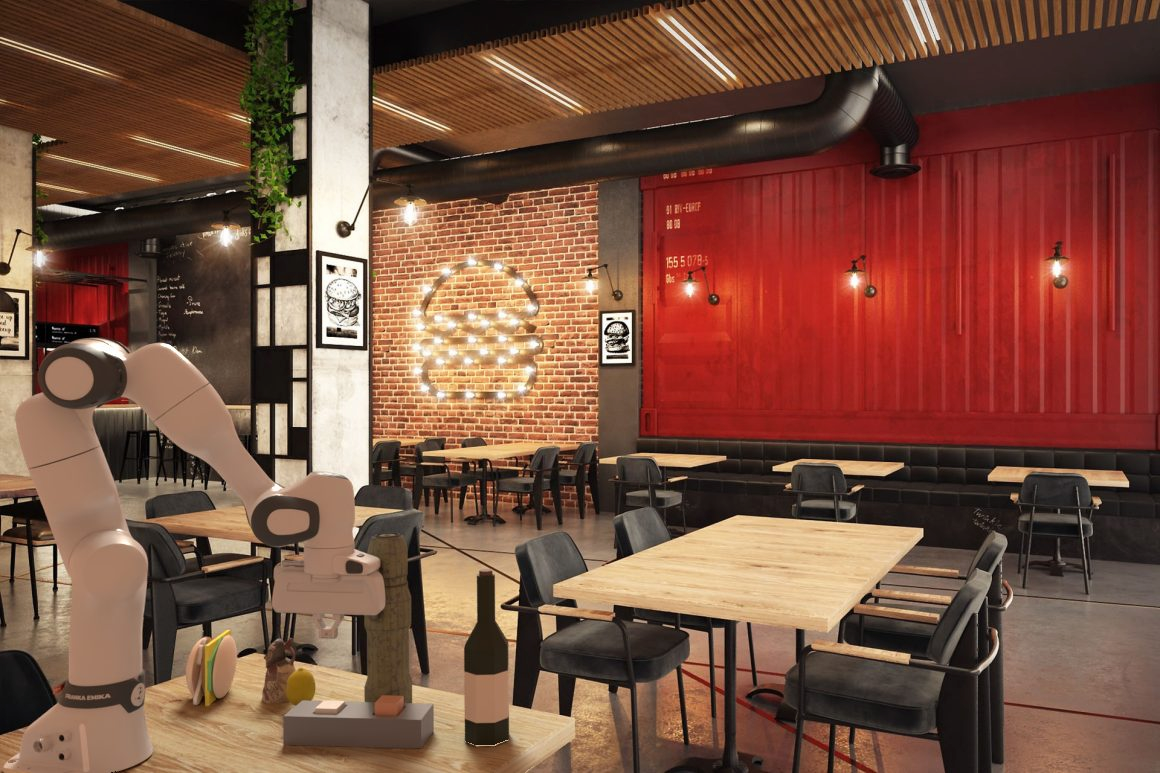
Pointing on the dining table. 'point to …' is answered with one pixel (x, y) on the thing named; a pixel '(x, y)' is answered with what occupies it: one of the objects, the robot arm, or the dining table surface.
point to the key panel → (358, 726)
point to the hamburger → (211, 667)
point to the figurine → (278, 671)
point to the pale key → (330, 707)
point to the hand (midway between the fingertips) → (328, 637)
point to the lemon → (300, 686)
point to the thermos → (389, 623)
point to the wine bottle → (486, 671)
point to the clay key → (389, 705)
